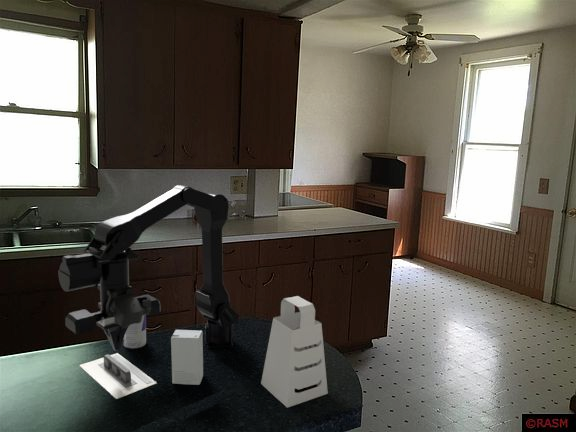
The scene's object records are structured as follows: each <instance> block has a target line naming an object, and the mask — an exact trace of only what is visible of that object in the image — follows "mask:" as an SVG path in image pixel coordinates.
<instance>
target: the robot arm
mask: <svg viewBox="0 0 576 432" xmlns="http://www.w3.org/2000/svg"><path fill="white" fill-rule="evenodd" d="M184 206H190V207H192V208H193V209H194V214H195V217H196V220H197V222H198V224H199V226H200V228H201V245H202V276H203V277H202V279H203V282H202V286H201V287H200V289H198V290H195V293H194V295H195V303H194V306H195V307H197V308H196V309H197V310H198V311H199V313H201V316H202V318H203V319H206V320H207V323H206V324H205V325H204V343H205V344H206V348H207V349H220V348H221V349H224V348H233V345H234V344H233V326H234V325H235V324H237V323H238V321H239V317H240V315H239V313H237V312H236V311H235V310H234V309H233V308H232V306H231V301H230V294H229V292H228V291H227V289H226V287H225V284H224V266H223V265H224V262H223V261H224V260H223V256H224V255H223V227H224V226H225V224H226V221H227V220H228V216H229V207H230V204H229V200H228V198H227V197H226V196H225V195H223V194H221V193H217V192H216V193H215V192H209V191H200V190H198V189H195V188H193V187H191V186H187V185H184V184H183V185H182V184H177V185H175V186H174V187H173V188H172V189H171V190H168V191H167V192H165V193H164V194H162V195H160V196H158V197H156V198H155V199H152V200H151V201H149V202H148V203H146V204H145V205H143V206H141V207H140V208H138V209H136V210H134V211H132V212H130V213H129V212H128V213H127V214H122V215H117V216H115V217H111V218H109V219H106V220H103V221H101V222H100V223H99V224H97V225H96V227H95V231H94V235H93V237H92V239H91V240H90V241H89V243H88V244H87V246H86V247H85V249H84V250H83V253H81V254H76V255H63V256H62V262H61V263H60V264H59V270H57V271H58V273H57V274H58V275H57V276H58V281H59V285H60V286H61V289H62V290H63V291H64V292H71V291H75V290H79V289H80V290H81V289H85V288H91V287H94V286H96V285H97V290H99V292H100V293H99V294H100V295H99V296H100V302H97V306H98V307H97V308H98V309H100V311H97V312H92V313H91V312H90V311H88V310H87V309H80V310H75V311H71V312H69V313H68V314H67V315H66V316H65V320H64V321H65V322H64V323H65V327H66V328H67V329H68V330H70V331H72V332H73V333H74V334H75V335H82V334H85V333H89V332H93V331H94V330H95V328H96V327H97V326H98V327H99V328H100V329H102V330H103V332H104V334H105V335H106V338H107V340H108V342H109V343H110V346H111V347H112V349H113V351H114V352H117V351H120V349H121V346H122V344H123V342H124V335H125V333H126V331H127V329H128V327H129V326H130V325H131V324H134V323H140V322H141V321H142V316H143V315H146V316H147V315H148V316H151V315H155V314H159V313H161V312H162V310H161V305H162V304H161V301H160V300H159V299H158V298H156V297H154V296H151V295H150V294H143V295H139V296H135V295H134V292H133V291H134V290H133V286H132V285H130V274H129V273H130V269H129V260H135V259H138V258H139V255H138V253H136V252H135V251H133V249H132V248H131V247H132V246H133V245H134V244H135V243H136V242H137V241H138V240H140V237H141V236H142V234H143V233H144V232H145V231H146V230H147V229H149V228H151V227H152V226H153V225H154V226H155V225H156V224H157V223H159V222H160V221H162V220H163V219H165V218H167V217H168V216H171V214H173V213H175V212H176V211H179V210H180V209H182V208H183V207H184ZM101 248H104V249H101Z"/></svg>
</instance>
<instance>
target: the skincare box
mask: <svg viewBox="0 0 576 432" xmlns="http://www.w3.org/2000/svg"><path fill="white" fill-rule="evenodd" d="M203 335H204V333H203V330H194V329H193V330H192V329H191V330H190V329H175V330H174V332H173V334H172V335H171V338H170V346H171V349H170V351H171V353H170V355H171V380H172V381H171V383H172V384H174V385H175V384H177V385H195V386H196V385H197V386H199V385H201V382H202V380H203V377H204V354H203V353H204V349H203V344H204V343H203V338H204V337H203Z"/></svg>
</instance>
